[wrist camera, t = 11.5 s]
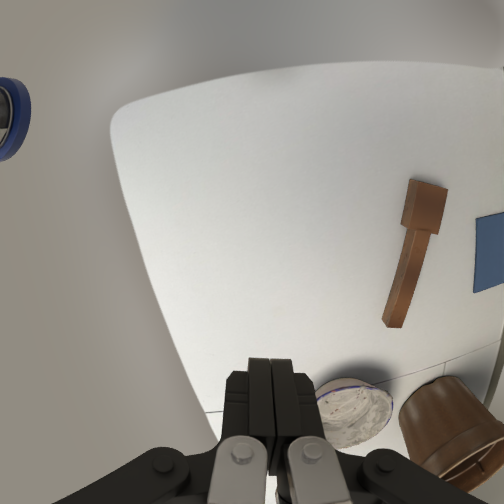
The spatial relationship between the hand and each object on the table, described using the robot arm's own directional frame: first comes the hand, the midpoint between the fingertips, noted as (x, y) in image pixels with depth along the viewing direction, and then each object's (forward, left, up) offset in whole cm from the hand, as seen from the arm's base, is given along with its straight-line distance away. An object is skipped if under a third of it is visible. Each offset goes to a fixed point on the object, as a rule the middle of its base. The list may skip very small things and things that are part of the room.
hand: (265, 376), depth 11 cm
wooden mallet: (+13, +11, -22) cm, 28 cm away
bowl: (+25, -7, -22) cm, 35 cm away
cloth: (+21, +21, -22) cm, 37 cm away
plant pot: (+39, +3, -22) cm, 45 cm away
